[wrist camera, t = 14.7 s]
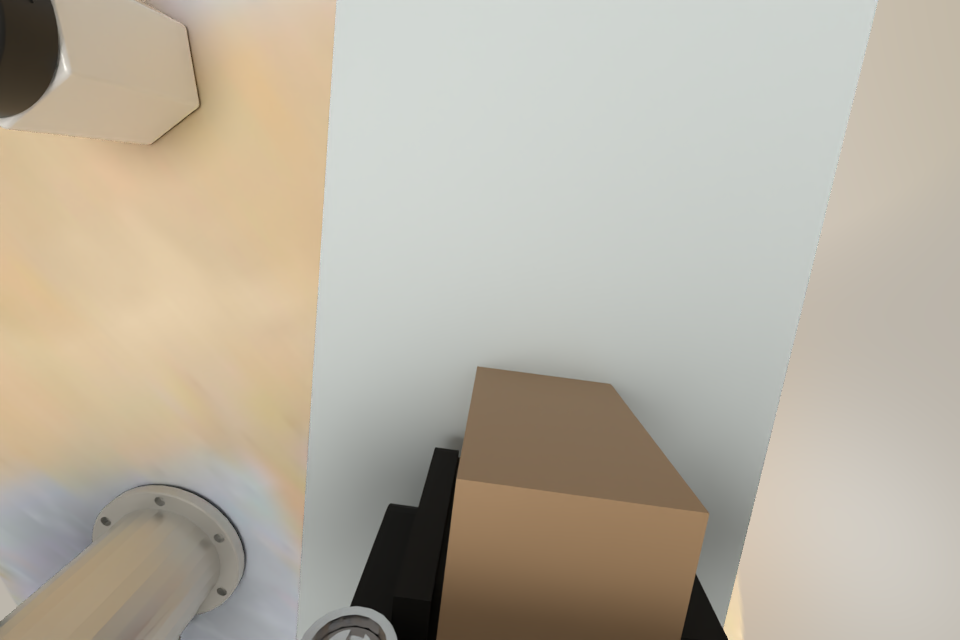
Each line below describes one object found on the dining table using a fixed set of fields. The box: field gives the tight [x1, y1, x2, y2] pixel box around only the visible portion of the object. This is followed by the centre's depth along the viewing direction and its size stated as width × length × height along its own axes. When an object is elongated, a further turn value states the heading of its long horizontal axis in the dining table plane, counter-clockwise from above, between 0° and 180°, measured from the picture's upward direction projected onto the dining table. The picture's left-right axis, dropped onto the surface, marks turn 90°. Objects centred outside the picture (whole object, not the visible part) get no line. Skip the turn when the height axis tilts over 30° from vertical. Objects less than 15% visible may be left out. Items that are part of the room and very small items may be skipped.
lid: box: [296, 0, 878, 640], centre depth 9 cm, size 22×10×6 cm, turn 173°
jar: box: [0, 0, 199, 145], centre depth 24 cm, size 9×8×12 cm
